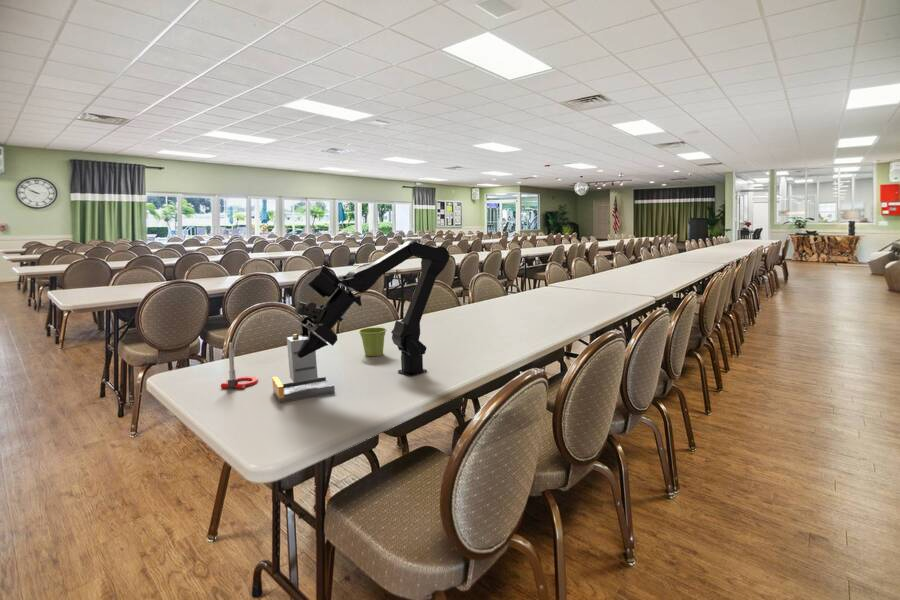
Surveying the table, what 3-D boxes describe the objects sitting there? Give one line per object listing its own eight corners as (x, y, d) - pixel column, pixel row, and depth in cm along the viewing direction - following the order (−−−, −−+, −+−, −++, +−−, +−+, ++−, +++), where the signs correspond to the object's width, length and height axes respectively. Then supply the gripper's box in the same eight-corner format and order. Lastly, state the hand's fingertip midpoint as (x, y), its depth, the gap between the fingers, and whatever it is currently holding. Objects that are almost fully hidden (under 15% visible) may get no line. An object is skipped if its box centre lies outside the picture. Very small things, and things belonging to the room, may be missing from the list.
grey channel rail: (325, 382, 133) (324, 368, 132) (334, 392, 125) (333, 377, 124) (273, 392, 126) (272, 377, 125) (279, 403, 118) (278, 387, 117)
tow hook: (237, 379, 139) (217, 389, 130) (235, 337, 138) (214, 343, 128) (263, 380, 138) (245, 390, 128) (261, 337, 136) (242, 343, 127)
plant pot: (355, 354, 162) (353, 330, 161) (377, 349, 169) (376, 326, 167) (369, 359, 156) (368, 334, 154) (393, 354, 162) (392, 329, 160)
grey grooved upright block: (312, 373, 129) (309, 330, 127) (317, 378, 124) (314, 334, 122) (290, 377, 126) (286, 333, 124) (294, 382, 121) (290, 337, 119)
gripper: (304, 286, 131) (266, 330, 127) (321, 293, 115) (278, 343, 111) (333, 310, 136) (298, 353, 132) (354, 320, 120) (314, 369, 116)
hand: (296, 354), depth 123 cm, fingers closed on grey grooved upright block, 5 cm apart
